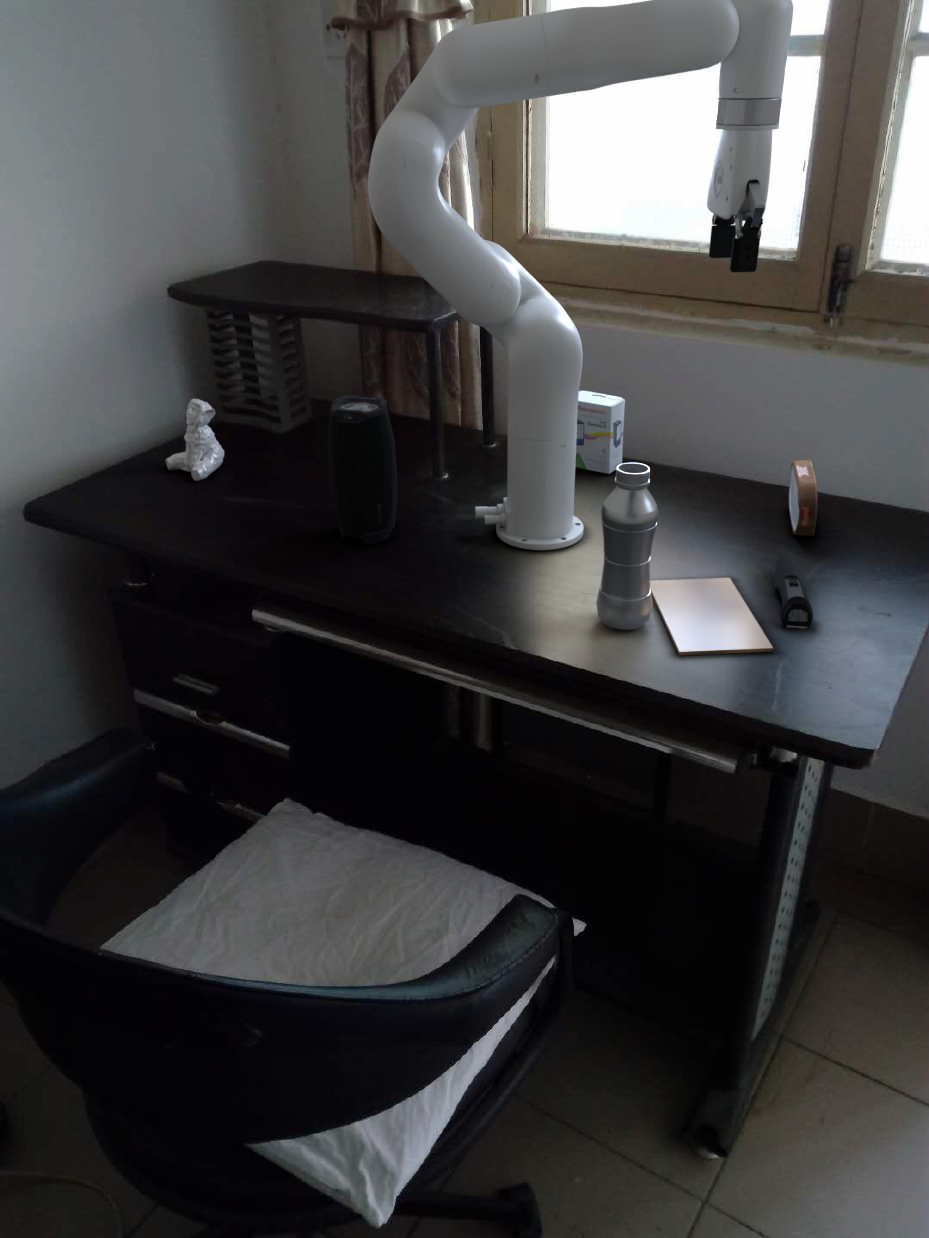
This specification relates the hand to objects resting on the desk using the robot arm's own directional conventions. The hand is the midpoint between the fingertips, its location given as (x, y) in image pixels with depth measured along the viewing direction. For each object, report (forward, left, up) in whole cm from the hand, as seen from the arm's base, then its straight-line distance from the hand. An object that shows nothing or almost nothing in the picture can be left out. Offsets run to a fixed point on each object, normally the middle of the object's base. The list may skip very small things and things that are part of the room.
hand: (731, 264), depth 129 cm
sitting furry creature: (-78, +31, -37) cm, 92 cm away
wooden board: (-6, -26, -37) cm, 45 cm away
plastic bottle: (-17, -27, -37) cm, 49 cm away
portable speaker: (-49, +2, -37) cm, 61 cm away
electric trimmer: (+5, -23, -37) cm, 44 cm away
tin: (+14, 0, -37) cm, 40 cm away
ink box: (-12, +26, -37) cm, 47 cm away
